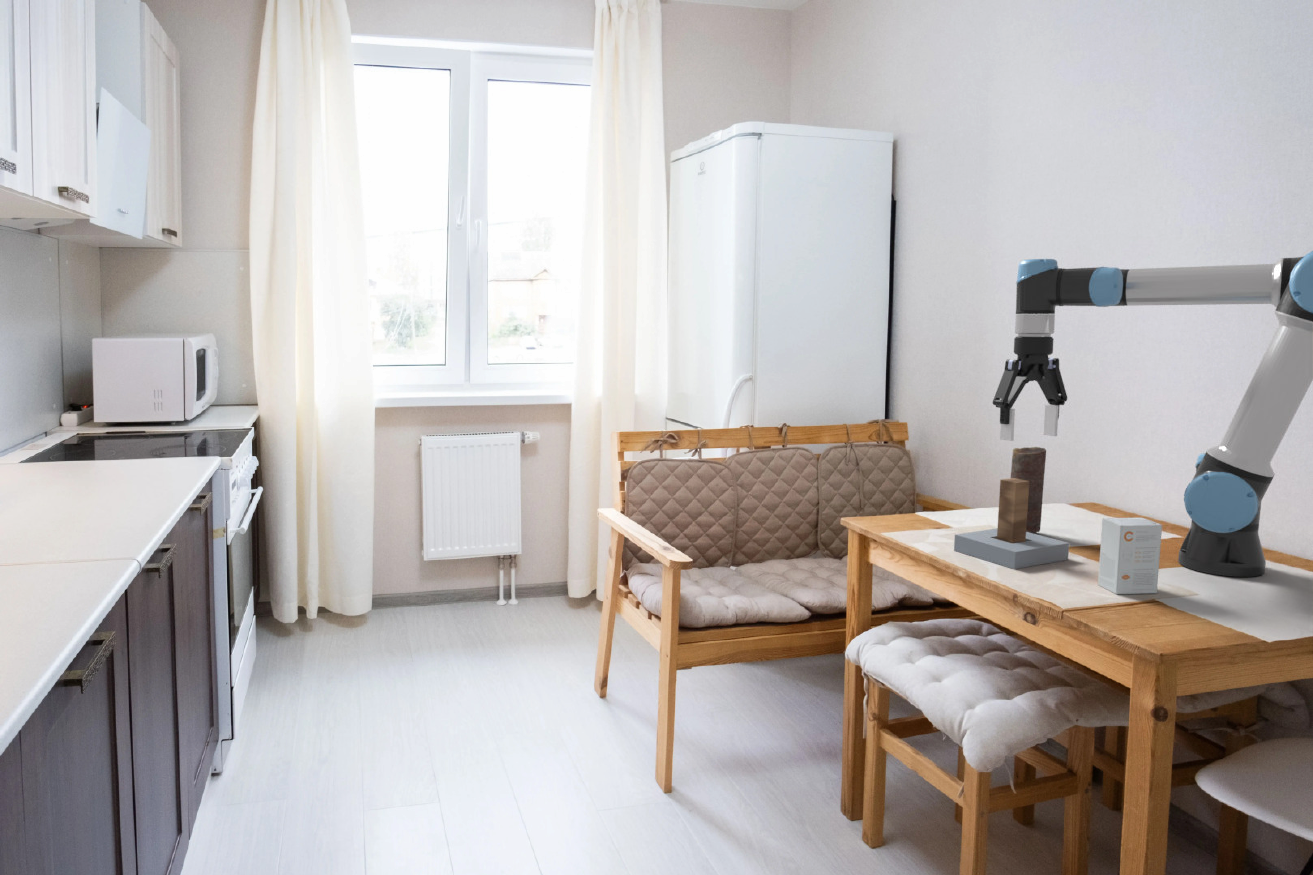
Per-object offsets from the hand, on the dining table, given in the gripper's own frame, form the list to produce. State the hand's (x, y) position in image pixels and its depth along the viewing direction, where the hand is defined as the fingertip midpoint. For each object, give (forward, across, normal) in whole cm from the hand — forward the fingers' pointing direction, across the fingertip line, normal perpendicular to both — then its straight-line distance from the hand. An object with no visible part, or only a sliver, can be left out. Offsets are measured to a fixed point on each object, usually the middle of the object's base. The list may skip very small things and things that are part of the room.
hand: (1028, 437), depth 197 cm
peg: (+25, +3, -1) cm, 25 cm away
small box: (+25, +4, +26) cm, 37 cm away
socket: (+25, +3, -1) cm, 25 cm away
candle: (+25, -15, -12) cm, 31 cm away
